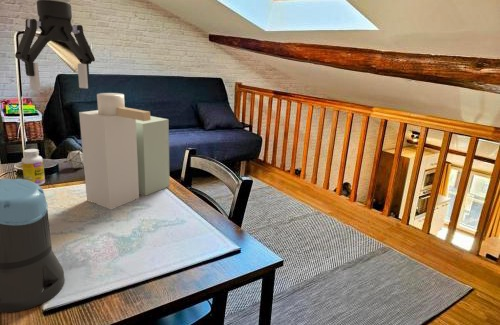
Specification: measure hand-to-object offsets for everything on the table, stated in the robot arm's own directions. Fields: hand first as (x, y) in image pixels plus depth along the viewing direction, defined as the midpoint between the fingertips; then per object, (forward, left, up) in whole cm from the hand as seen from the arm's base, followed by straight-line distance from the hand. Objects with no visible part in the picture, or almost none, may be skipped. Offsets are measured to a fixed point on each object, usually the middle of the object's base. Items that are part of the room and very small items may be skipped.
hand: (61, 89), depth 94 cm
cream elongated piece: (+8, -17, -9) cm, 21 cm away
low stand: (+22, -26, -39) cm, 52 cm away
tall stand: (+15, -13, -39) cm, 44 cm away
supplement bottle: (+40, +11, -39) cm, 57 cm away
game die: (+54, -4, -39) cm, 67 cm away
